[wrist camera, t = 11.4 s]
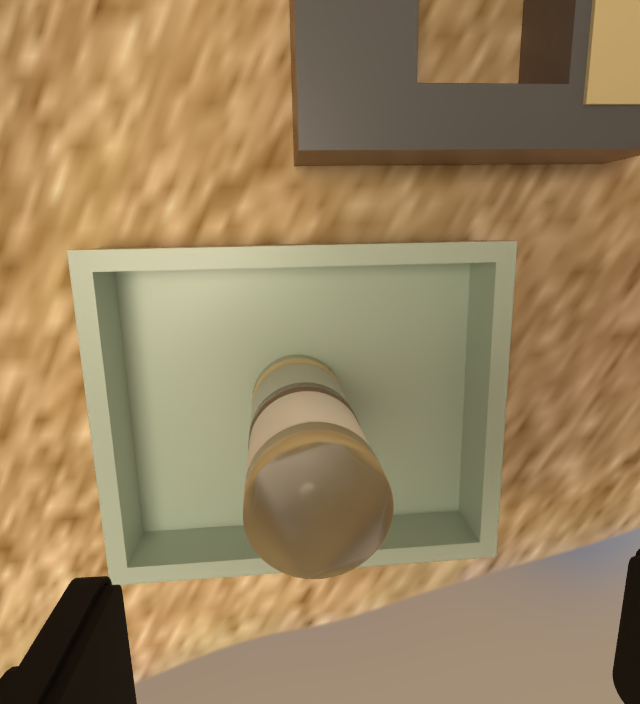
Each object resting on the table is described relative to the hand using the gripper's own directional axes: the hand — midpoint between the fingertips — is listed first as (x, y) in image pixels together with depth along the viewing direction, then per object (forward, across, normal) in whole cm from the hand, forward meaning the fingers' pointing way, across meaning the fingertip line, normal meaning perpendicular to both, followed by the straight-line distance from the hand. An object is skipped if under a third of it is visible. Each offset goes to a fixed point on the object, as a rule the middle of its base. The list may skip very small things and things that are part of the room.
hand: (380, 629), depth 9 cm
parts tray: (+15, +1, +1) cm, 15 cm away
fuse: (+14, +1, 0) cm, 14 cm away
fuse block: (+16, -6, -15) cm, 22 cm away
